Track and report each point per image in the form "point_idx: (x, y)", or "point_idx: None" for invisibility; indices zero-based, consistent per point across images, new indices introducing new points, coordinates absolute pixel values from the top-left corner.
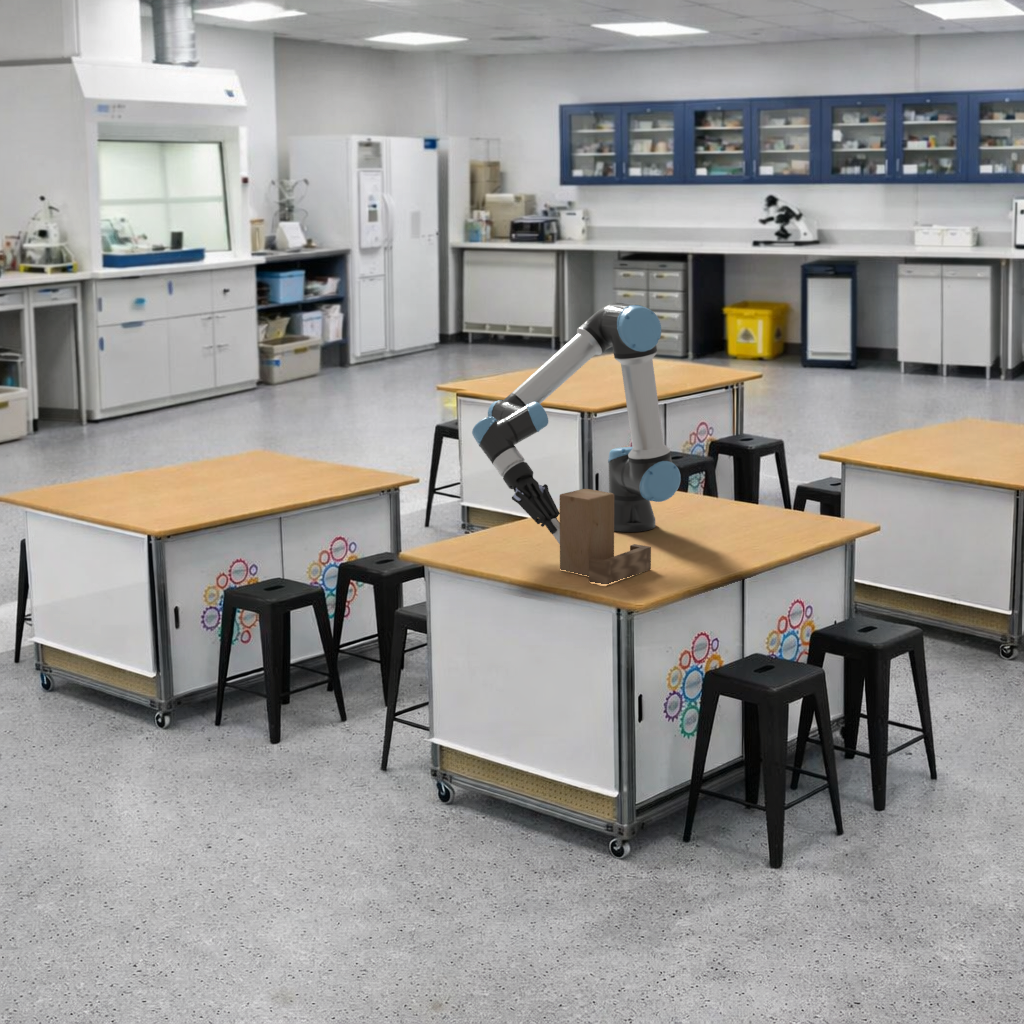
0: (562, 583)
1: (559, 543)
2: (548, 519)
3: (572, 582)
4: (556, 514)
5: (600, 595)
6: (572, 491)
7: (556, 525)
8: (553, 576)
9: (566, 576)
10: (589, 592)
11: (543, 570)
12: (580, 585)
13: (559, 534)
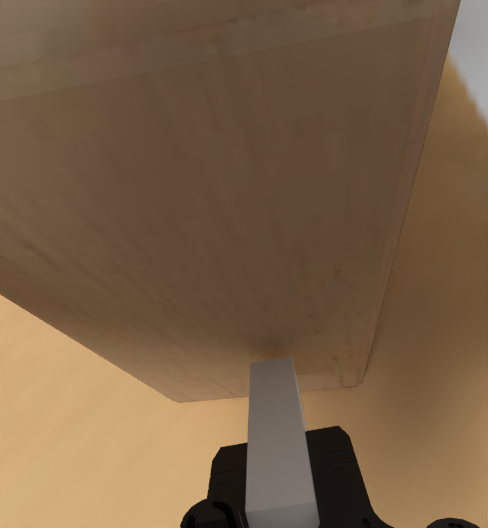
0: (480, 227)
1: (306, 425)
2: (364, 515)
3: (432, 215)
4: (218, 515)
5: (448, 61)
6: (83, 16)
7: (304, 437)
8: (447, 335)
9: (394, 297)
10: (460, 97)
11: (422, 463)
12: (431, 170)
13: (302, 413)
